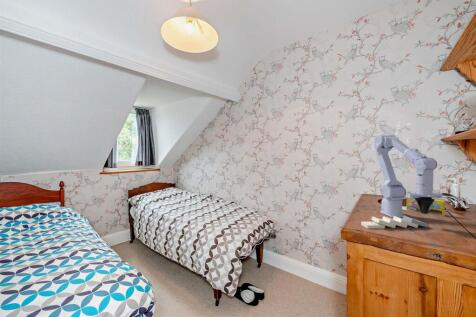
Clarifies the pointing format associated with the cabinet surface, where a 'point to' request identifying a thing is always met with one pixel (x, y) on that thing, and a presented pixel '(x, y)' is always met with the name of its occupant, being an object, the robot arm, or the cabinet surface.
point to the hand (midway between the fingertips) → (423, 213)
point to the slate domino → (415, 221)
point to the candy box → (434, 209)
